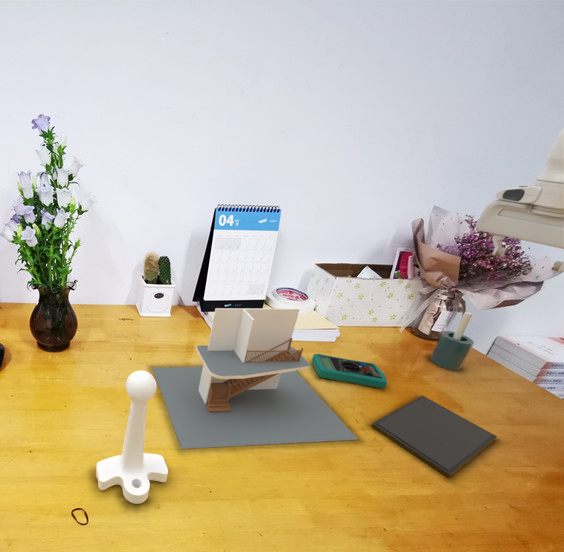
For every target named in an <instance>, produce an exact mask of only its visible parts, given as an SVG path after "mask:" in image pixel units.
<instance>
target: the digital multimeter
mask: <svg viewBox="0 0 564 552" xmlns="http://www.w3.org/2000/svg"><path fill="white" fill-rule="evenodd" d="M311 362H312V365H313V368H314V370H315V372H316V373H317V375H318V376H319V377H320V378H322V379H328V380H333V381H339V382H343V383H349V384H354V385H360V386H364V387H369V388H370V387H371V388H376V389H381V390H382V389H385V388H386V386H387V384H388V380H387V376H386V375H385V374H384V372H383V371H382V370H381V369H380V367H379V366H377V365H376V363H373V362H367V361H361V360H355V359H350V358H349V359H348V358H343V357H338V356H331V355H326V354H322V353H313V355H312V359H311Z"/></svg>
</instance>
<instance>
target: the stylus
mask: <svg viewBox="0 0 564 552" xmlns="http://www.w3.org/2000/svg"><path fill="white" fill-rule="evenodd" d="M473 315H474V314H473V313H471V312H470V311H464V312H463V315H462V317H461V320H460V322H459V324H458V325H457V327H456V330H455V331H454V332H455V334H454V336H453V339H456V340H459V341H460V339H461V337H462V335H464V333H465V331H466V329H467V327H468V325H469V323H470V321H471V319H472V317H473Z"/></svg>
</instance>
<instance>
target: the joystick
mask: <svg viewBox="0 0 564 552" xmlns="http://www.w3.org/2000/svg"><path fill="white" fill-rule="evenodd" d="M157 385H158V384H157V380H156V378H155V377H154V376H153V375H152V374H151V373H150V372H148V371H147V370H140V369H139V370H136V371H133V372H132V373H130V375H129V376H128V377H127V379H126V381H125V391H126V394H127V396H128V397H129V398H130V400H131V401H130V407H129V412H128V417H127V421H126V422H127V423H126V428H125V434H124V440H123V445H122V449H121V454H118V455H114V456H111V457H107V458H105V459H101V460H100V461H97V463H96V468H95V477H96V480H97V486H98V487H97V488H98V489H99V490H100V491H105V490H107V489H109V488H110V487H112V486H113V487H114V486H115V485H118V486H120V487H121V488H122V494H123V497H124V499H126V501H128V502H130V503H131V504H135V505H137V504H138V505H139V504H142V503H144V502H146V501H147V499H148V498H149V494H150V487H151V483H150V481H155V482H160V483H166V482H167V480H168V475H169V469H168V466H167V463H166V461H165V459H164V457H163V455H161V454H156V453H148V452H145V443H146V425H147V409H148V402H150V400H152V399H153V398H154V397H155V395H156V392H157Z"/></svg>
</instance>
